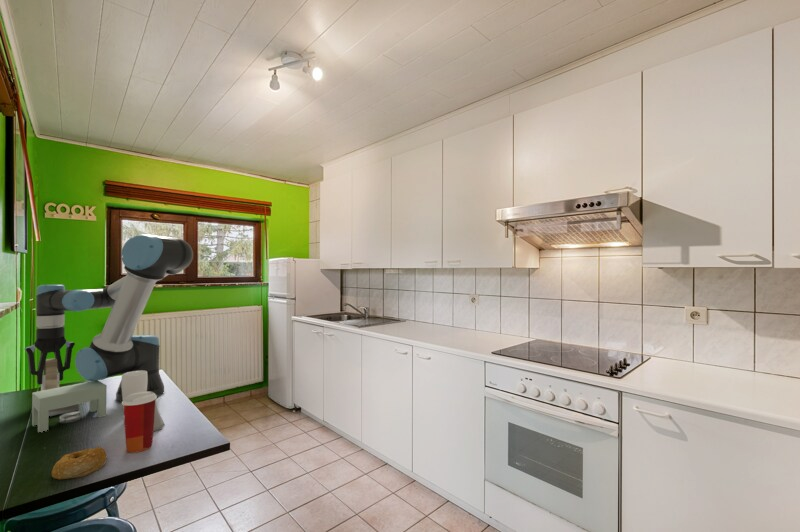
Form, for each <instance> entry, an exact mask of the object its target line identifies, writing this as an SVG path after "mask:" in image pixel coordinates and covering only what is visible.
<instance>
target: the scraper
mask: <svg viewBox="0 0 800 532" xmlns="http://www.w3.org/2000/svg"><path fill="white" fill-rule="evenodd" d="M57 372H58V370H57V359H56V358H55V357H54V358H46V361H45V366H44V371H43V374H45V375H46V385H45V390H48V389H53V388H57ZM79 405H80V403H79V404H75V405H70V406H66V407H61V408H57V409H52V410H49V416H50V417H53V416H57V415H63V414H66V413H70V412H76V411H79V409H80V406H79Z"/></svg>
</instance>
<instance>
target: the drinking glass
mask: <svg viewBox="0 0 800 532" xmlns="http://www.w3.org/2000/svg"><path fill="white" fill-rule="evenodd" d="M121 379H122V381H121V380H120V382H121V388H122V399H123V400H124V398H125V397H126V396H128V395H130V394H134V393H138V392H147V383H148V376H147V371H143V370H141V371H132V372H127V373H124V374H121ZM123 410H124V407H123Z"/></svg>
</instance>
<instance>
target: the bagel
mask: <svg viewBox="0 0 800 532" xmlns="http://www.w3.org/2000/svg"><path fill="white" fill-rule="evenodd" d="M107 455H108V454H107V451H106V450H105V449H104V448H103V447H101V446H97V447H94V448H91V447H90V448H89V447H88V448H85V449H82V450H79V451H74V452H71V453H67V454H64V455H63V456H61V458H60V459H59V460H57V462H56V463H55V464H54V465H53V467H52V470H51V476H52V478H53V479H57V480H67V479H77V478H82V477H85V476H89V475H91V474H93V473H94V472H96V471H99V469H101V468H102V467H104V465H105V464H106V461H107V460H108V459H107V457H108V456H107Z"/></svg>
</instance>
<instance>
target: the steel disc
mask: <svg viewBox="0 0 800 532" xmlns="http://www.w3.org/2000/svg"><path fill="white" fill-rule="evenodd" d="M81 415H82V414H81V411H71V412H67V413H62V414H60V415H59V424H70V423H74V422H77V421H79V420H81V418H82V417H81ZM69 422H70V423H69Z"/></svg>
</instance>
